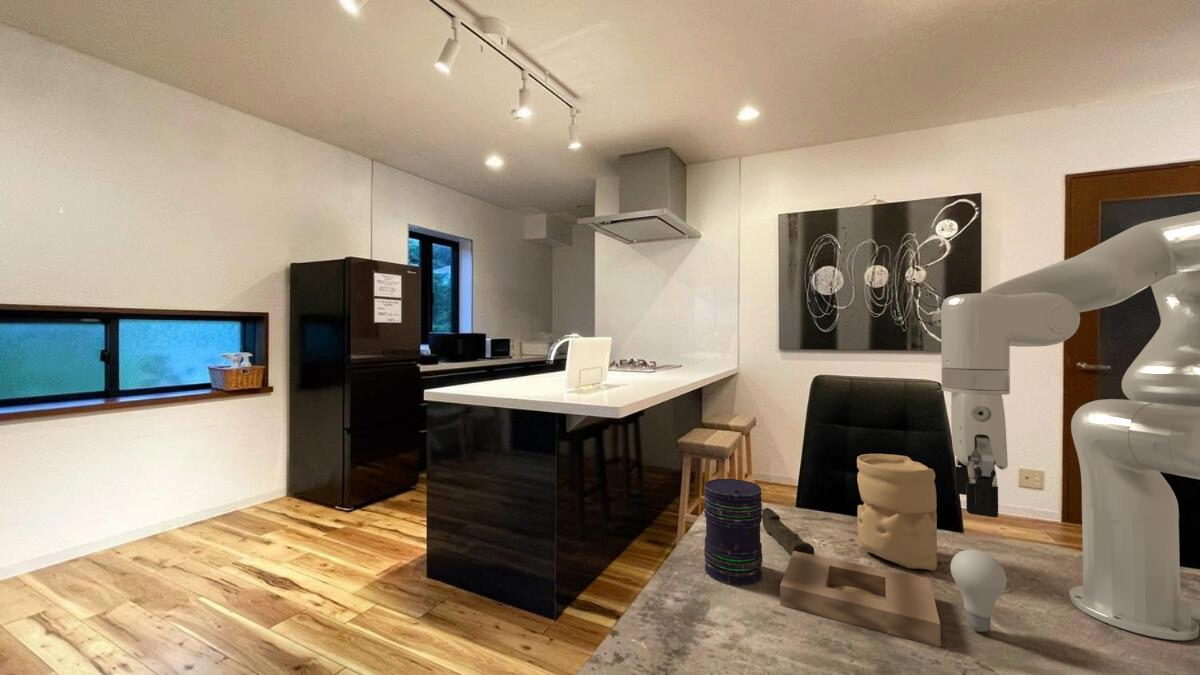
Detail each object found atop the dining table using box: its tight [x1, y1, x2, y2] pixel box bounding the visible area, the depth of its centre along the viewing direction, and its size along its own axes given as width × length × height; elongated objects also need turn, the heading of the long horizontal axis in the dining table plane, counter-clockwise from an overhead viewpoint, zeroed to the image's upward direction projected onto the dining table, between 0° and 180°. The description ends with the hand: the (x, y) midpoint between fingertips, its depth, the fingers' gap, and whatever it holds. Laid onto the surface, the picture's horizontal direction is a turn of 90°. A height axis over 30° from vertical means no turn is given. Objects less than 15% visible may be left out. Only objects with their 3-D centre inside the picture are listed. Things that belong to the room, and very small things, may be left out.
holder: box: [779, 551, 942, 648], centre depth 73 cm, size 20×14×3 cm
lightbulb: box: [950, 549, 1008, 633], centre depth 66 cm, size 6×6×11 cm
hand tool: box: [761, 507, 815, 556], centre depth 95 cm, size 19×4×5 cm, turn 0°
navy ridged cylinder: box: [703, 478, 763, 587], centre depth 83 cm, size 10×10×15 cm
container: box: [856, 453, 938, 572], centre depth 88 cm, size 13×13×18 cm
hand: (975, 504), depth 66 cm, fingers open, 9 cm apart
